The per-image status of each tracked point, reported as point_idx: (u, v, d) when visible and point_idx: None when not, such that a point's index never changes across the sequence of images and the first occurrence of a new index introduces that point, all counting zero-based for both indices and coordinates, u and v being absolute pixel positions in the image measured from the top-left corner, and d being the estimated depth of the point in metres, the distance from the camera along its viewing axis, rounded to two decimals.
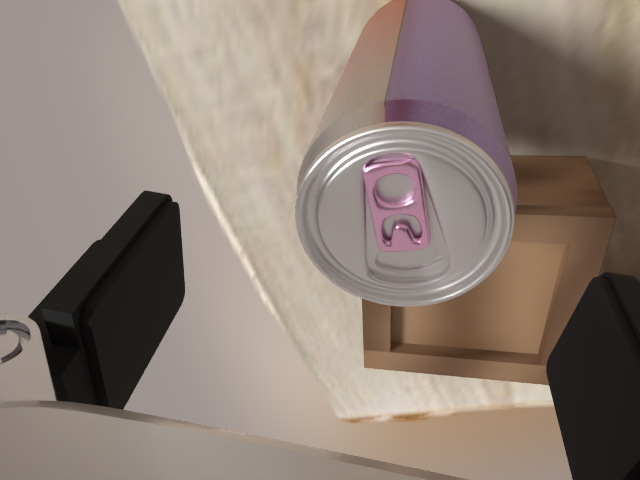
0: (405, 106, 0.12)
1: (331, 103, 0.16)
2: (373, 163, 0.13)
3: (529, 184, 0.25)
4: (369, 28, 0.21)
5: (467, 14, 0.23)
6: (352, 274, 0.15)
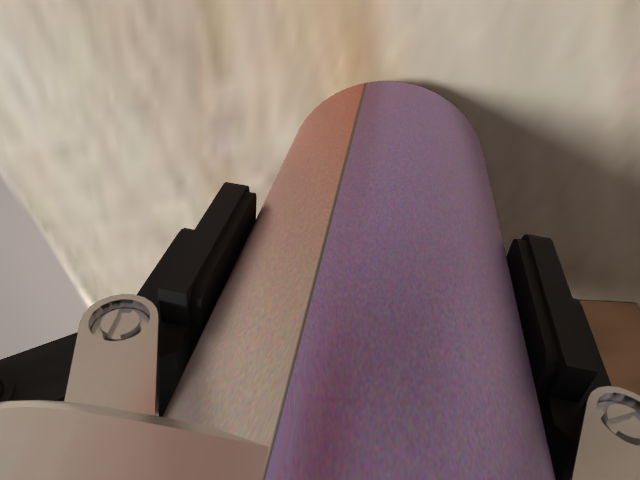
0: None
1: None
2: None
3: None
4: (297, 152, 0.13)
5: (461, 114, 0.14)
6: None
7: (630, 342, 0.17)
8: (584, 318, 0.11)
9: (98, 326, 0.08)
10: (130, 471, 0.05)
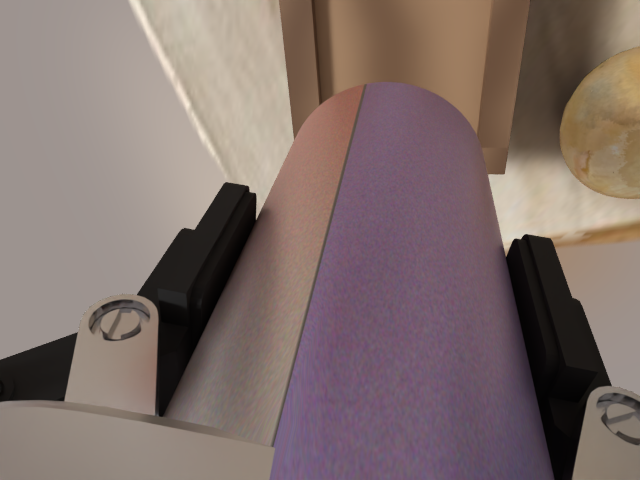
0: None
1: None
2: None
3: None
4: (297, 153, 0.13)
5: (461, 115, 0.14)
6: None
7: None
8: (584, 318, 0.11)
9: (98, 326, 0.08)
10: (130, 471, 0.05)
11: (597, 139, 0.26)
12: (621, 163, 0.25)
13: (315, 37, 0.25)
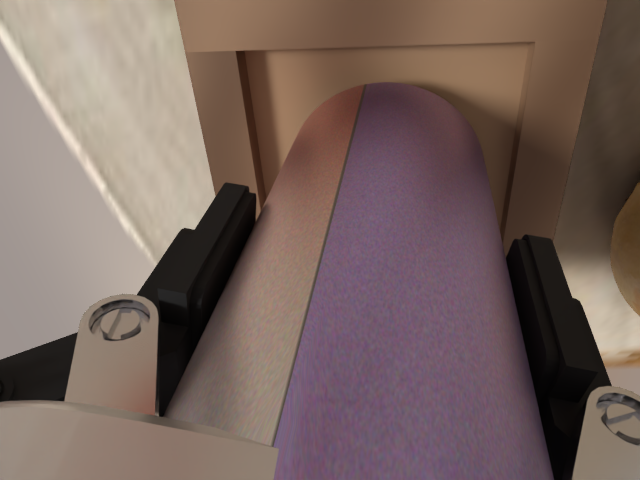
0: None
1: None
2: None
3: None
4: (297, 153, 0.13)
5: (461, 115, 0.14)
6: None
7: None
8: (583, 317, 0.11)
9: (98, 326, 0.08)
10: (130, 471, 0.05)
11: None
12: None
13: (251, 128, 0.16)
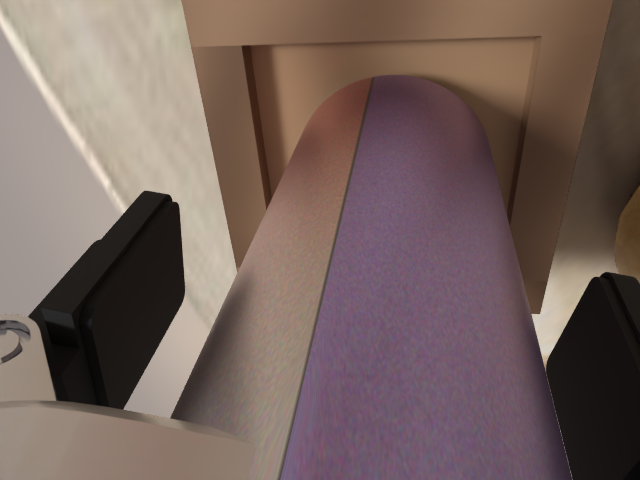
0: None
1: (182, 401, 0.07)
2: None
3: None
4: (306, 144, 0.13)
5: (468, 108, 0.14)
6: None
7: None
8: None
9: None
10: (130, 471, 0.05)
11: None
12: None
13: (256, 123, 0.16)
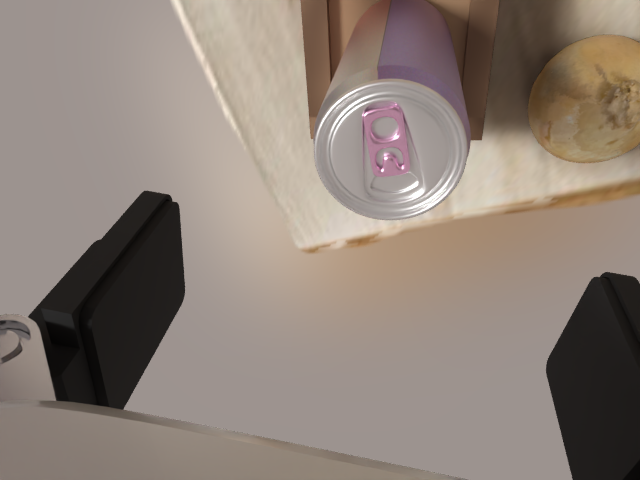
0: (391, 69, 0.18)
1: (337, 74, 0.21)
2: (370, 109, 0.18)
3: None
4: (362, 22, 0.27)
5: (439, 12, 0.29)
6: (354, 196, 0.20)
7: None
8: None
9: None
10: (130, 471, 0.05)
11: (555, 111, 0.31)
12: (575, 130, 0.31)
13: (328, 25, 0.31)
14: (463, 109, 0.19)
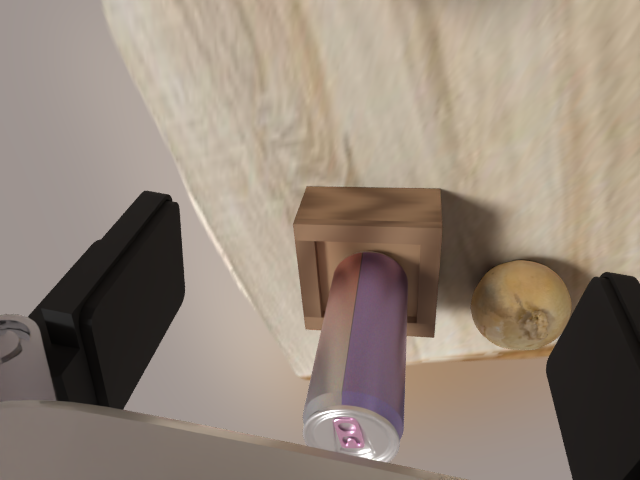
0: (350, 395, 0.29)
1: (318, 365, 0.32)
2: (337, 418, 0.29)
3: (400, 207, 0.40)
4: (339, 284, 0.38)
5: (397, 264, 0.39)
6: None
7: (431, 200, 0.40)
8: None
9: None
10: (130, 471, 0.05)
11: (488, 321, 0.42)
12: (502, 336, 0.42)
13: (317, 263, 0.41)
14: (397, 414, 0.29)
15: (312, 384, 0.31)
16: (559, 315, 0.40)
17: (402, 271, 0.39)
